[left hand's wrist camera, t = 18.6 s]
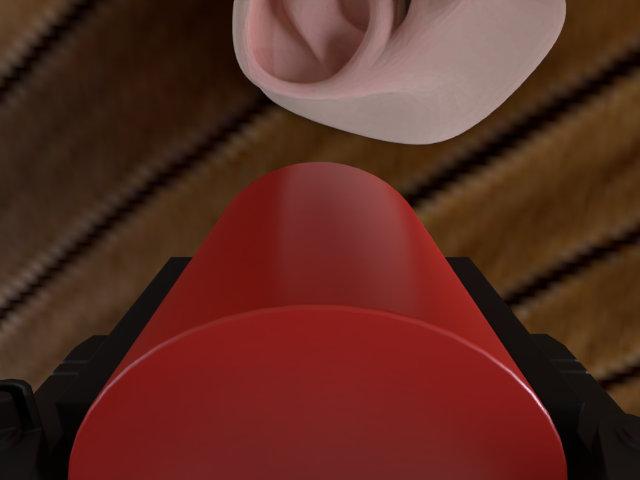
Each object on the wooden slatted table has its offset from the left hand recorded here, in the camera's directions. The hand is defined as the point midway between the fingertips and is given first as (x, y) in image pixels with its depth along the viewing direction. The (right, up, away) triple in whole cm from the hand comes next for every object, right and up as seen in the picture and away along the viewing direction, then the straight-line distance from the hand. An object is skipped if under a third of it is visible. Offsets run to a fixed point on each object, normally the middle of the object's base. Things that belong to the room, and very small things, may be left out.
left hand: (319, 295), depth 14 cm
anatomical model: (+4, +12, +5) cm, 13 cm away
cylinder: (0, +1, +2) cm, 2 cm away
